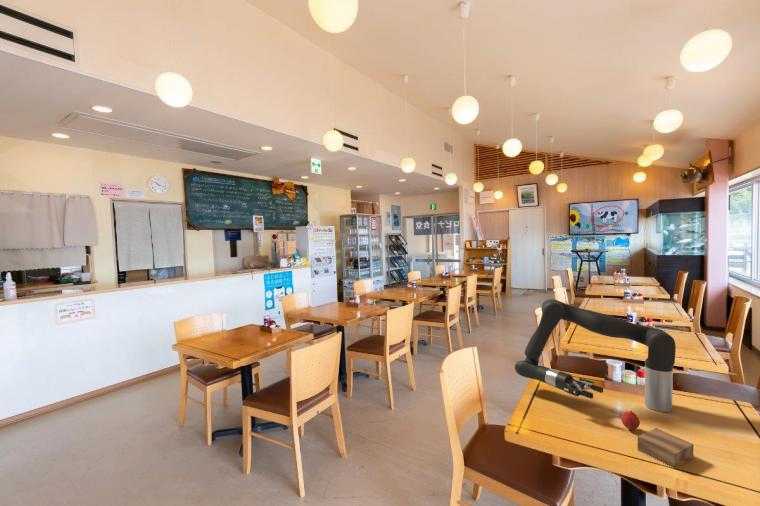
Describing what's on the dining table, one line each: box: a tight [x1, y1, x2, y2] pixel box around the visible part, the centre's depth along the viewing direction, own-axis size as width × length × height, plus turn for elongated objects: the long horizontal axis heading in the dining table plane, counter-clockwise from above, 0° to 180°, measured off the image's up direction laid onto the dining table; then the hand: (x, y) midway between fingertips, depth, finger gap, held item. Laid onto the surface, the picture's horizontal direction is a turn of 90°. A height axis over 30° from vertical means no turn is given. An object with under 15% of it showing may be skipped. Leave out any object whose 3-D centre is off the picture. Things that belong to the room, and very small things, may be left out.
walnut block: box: [637, 427, 695, 469], centre depth 120 cm, size 11×11×5 cm
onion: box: [620, 409, 641, 431], centre depth 134 cm, size 6×6×8 cm
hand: (597, 393), depth 143 cm, fingers open, 8 cm apart
